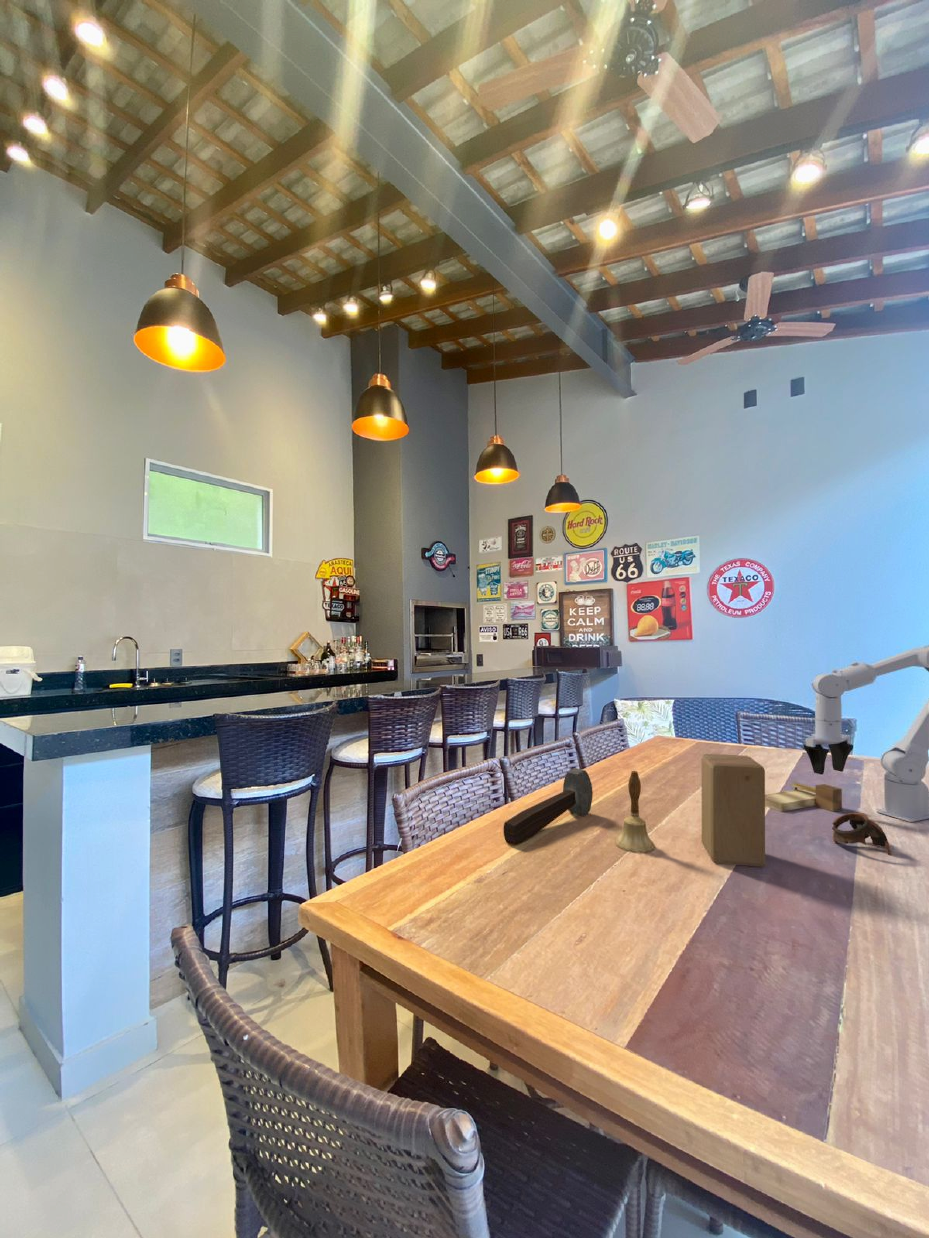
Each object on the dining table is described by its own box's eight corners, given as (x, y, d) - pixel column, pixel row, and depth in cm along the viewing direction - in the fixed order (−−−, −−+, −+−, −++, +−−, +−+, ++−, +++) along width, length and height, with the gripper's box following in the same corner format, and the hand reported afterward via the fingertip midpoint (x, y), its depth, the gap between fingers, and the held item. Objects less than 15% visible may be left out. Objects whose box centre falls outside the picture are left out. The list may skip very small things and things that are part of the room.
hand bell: (660, 852, 112) (660, 776, 112) (621, 852, 112) (621, 776, 112) (647, 837, 121) (646, 766, 121) (610, 837, 121) (610, 766, 121)
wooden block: (766, 869, 105) (766, 766, 105) (712, 864, 107) (712, 764, 107) (750, 848, 115) (750, 754, 115) (700, 844, 117) (700, 752, 117)
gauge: (797, 796, 150) (797, 776, 150) (841, 809, 139) (841, 788, 139) (789, 797, 149) (789, 777, 149) (832, 811, 137) (832, 790, 138)
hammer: (519, 863, 115) (594, 811, 136) (515, 813, 114) (590, 768, 135) (502, 856, 119) (577, 807, 140) (498, 807, 118) (574, 765, 139)
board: (801, 795, 150) (801, 788, 150) (826, 803, 144) (826, 795, 144) (757, 803, 144) (757, 795, 144) (781, 811, 137) (781, 803, 137)
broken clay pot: (899, 864, 109) (877, 828, 109) (848, 873, 114) (827, 839, 114) (887, 829, 119) (868, 797, 119) (841, 839, 124) (822, 808, 124)
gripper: (831, 715, 147) (831, 765, 147) (794, 719, 141) (794, 770, 141) (858, 720, 140) (858, 772, 140) (820, 723, 135) (821, 777, 135)
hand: (828, 772), depth 140 cm, fingers open, 7 cm apart
